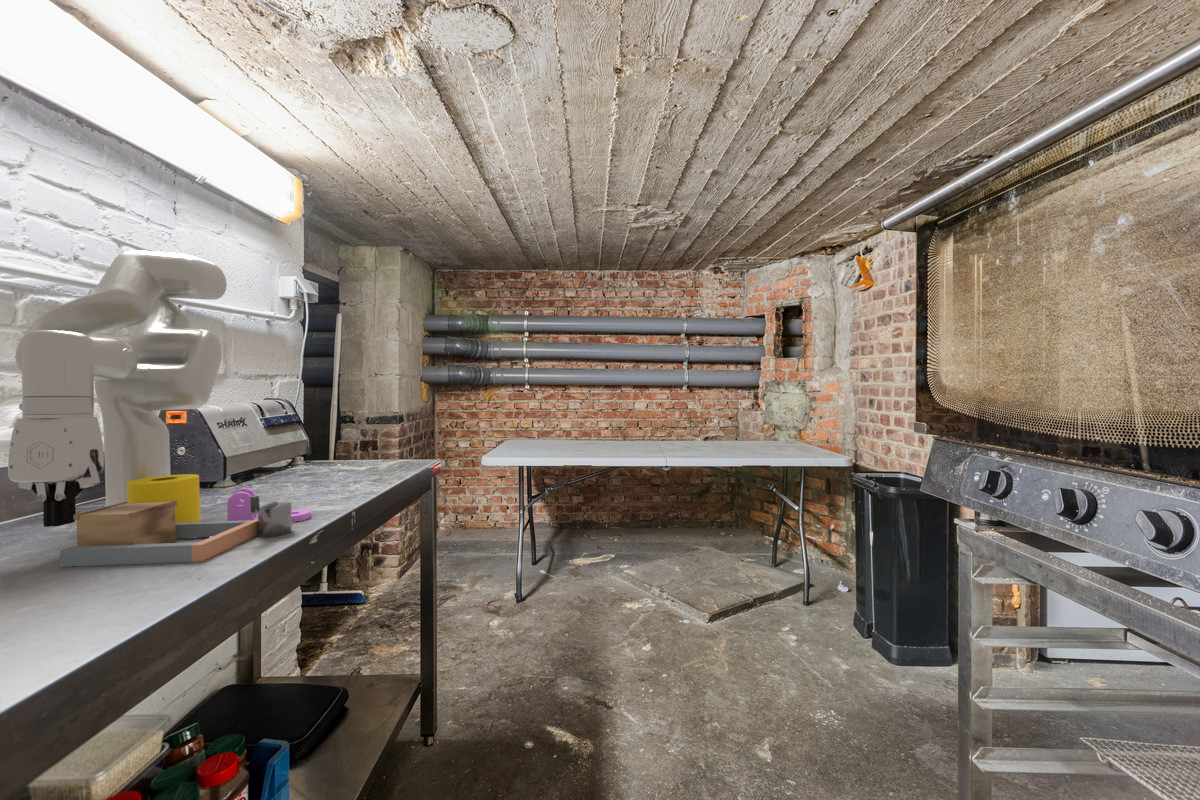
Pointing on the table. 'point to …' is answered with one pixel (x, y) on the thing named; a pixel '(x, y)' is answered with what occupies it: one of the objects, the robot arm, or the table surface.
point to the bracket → (242, 508)
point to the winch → (272, 517)
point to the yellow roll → (169, 494)
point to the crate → (127, 524)
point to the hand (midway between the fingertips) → (59, 524)
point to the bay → (166, 546)
